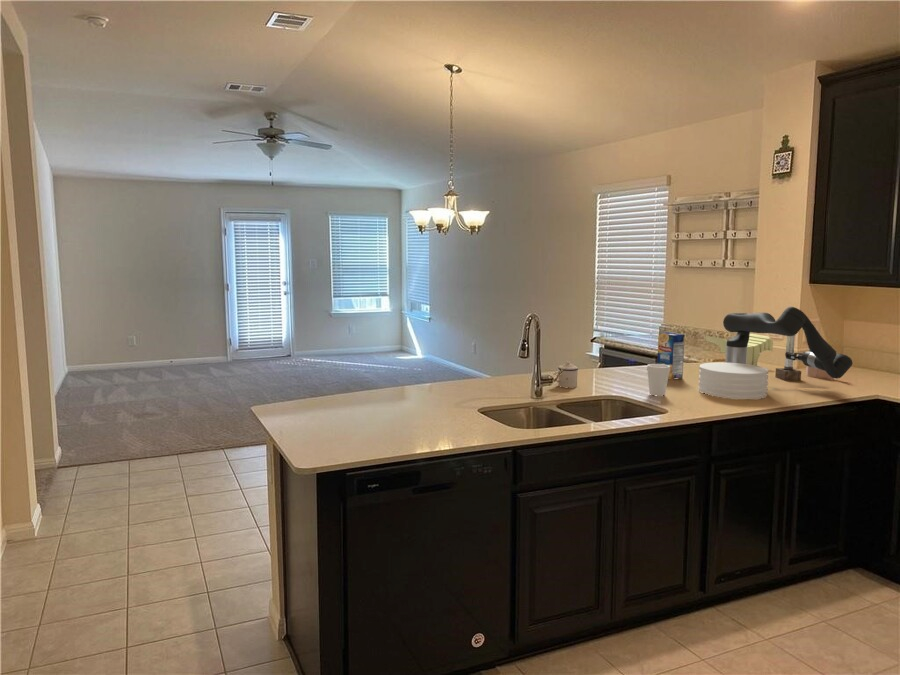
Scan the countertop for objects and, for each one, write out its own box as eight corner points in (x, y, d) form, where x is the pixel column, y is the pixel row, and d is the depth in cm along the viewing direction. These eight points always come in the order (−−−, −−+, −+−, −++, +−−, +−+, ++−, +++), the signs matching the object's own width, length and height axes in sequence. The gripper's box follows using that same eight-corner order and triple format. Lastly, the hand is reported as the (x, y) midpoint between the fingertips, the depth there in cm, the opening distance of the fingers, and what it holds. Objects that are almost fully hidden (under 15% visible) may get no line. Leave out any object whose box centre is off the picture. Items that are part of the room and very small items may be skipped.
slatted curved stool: (725, 373, 329) (727, 339, 327) (704, 368, 344) (706, 335, 342) (771, 370, 338) (773, 337, 336) (748, 365, 353) (750, 333, 351)
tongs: (783, 378, 308) (787, 329, 305) (788, 378, 308) (792, 329, 305) (787, 379, 305) (790, 329, 302) (792, 379, 305) (795, 329, 302)
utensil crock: (808, 380, 311) (810, 360, 310) (804, 376, 322) (806, 356, 320) (835, 381, 307) (836, 361, 306) (830, 377, 318) (831, 357, 316)
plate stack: (760, 388, 292) (762, 364, 291) (772, 402, 266) (774, 375, 264) (695, 385, 300) (697, 361, 299) (701, 397, 273) (702, 371, 272)
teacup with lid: (570, 383, 301) (571, 359, 299) (581, 387, 293) (582, 362, 291) (548, 385, 296) (549, 361, 295) (559, 389, 288) (559, 364, 287)
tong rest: (784, 383, 303) (784, 371, 302) (775, 380, 311) (775, 368, 310) (800, 383, 303) (801, 371, 302) (791, 380, 311) (791, 368, 310)
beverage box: (671, 379, 312) (673, 335, 309) (656, 375, 322) (658, 332, 319) (682, 378, 314) (684, 334, 311) (667, 374, 324) (669, 332, 322)
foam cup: (665, 398, 271) (666, 368, 270) (643, 395, 276) (644, 366, 274) (670, 394, 279) (672, 365, 278) (649, 391, 284) (650, 363, 282)
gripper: (799, 367, 286) (779, 361, 302) (830, 368, 286) (809, 361, 302) (800, 351, 285) (781, 346, 301) (831, 351, 285) (810, 346, 301)
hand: (795, 354), depth 301 cm, fingers open, 8 cm apart
